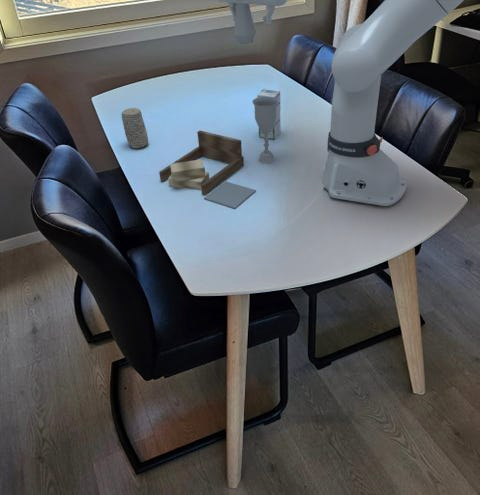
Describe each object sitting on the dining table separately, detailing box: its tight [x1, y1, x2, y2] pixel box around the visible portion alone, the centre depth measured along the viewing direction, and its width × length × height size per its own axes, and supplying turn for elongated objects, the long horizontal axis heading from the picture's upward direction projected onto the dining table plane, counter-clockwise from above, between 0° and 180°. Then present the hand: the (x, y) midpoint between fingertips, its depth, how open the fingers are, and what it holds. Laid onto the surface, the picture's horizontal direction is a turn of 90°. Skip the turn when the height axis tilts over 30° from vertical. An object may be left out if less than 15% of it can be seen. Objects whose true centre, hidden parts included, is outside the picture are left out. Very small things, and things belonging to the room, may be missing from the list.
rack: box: [158, 130, 245, 196], centre depth 138 cm, size 16×19×8 cm
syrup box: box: [256, 88, 282, 140], centre depth 154 cm, size 6×6×14 cm
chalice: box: [251, 97, 278, 165], centre depth 139 cm, size 7×7×18 cm
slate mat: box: [203, 181, 257, 210], centre depth 130 cm, size 10×10×1 cm
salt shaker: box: [233, 3, 256, 45], centre depth 128 cm, size 6×6×13 cm
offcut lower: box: [167, 171, 210, 191], centre depth 136 cm, size 10×6×3 cm, turn 73°
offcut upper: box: [169, 158, 206, 182], centre depth 134 cm, size 9×5×3 cm, turn 102°
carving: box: [121, 107, 149, 149], centre depth 154 cm, size 6×8×12 cm
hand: (252, 22), depth 128 cm, fingers open, 8 cm apart
